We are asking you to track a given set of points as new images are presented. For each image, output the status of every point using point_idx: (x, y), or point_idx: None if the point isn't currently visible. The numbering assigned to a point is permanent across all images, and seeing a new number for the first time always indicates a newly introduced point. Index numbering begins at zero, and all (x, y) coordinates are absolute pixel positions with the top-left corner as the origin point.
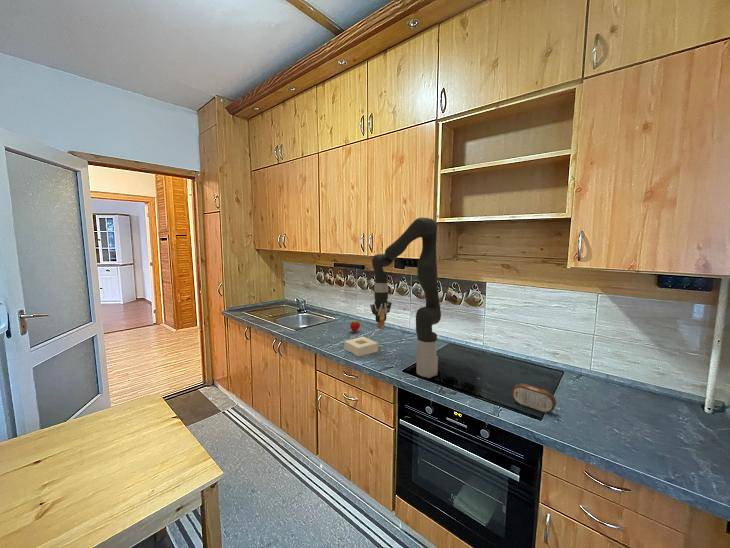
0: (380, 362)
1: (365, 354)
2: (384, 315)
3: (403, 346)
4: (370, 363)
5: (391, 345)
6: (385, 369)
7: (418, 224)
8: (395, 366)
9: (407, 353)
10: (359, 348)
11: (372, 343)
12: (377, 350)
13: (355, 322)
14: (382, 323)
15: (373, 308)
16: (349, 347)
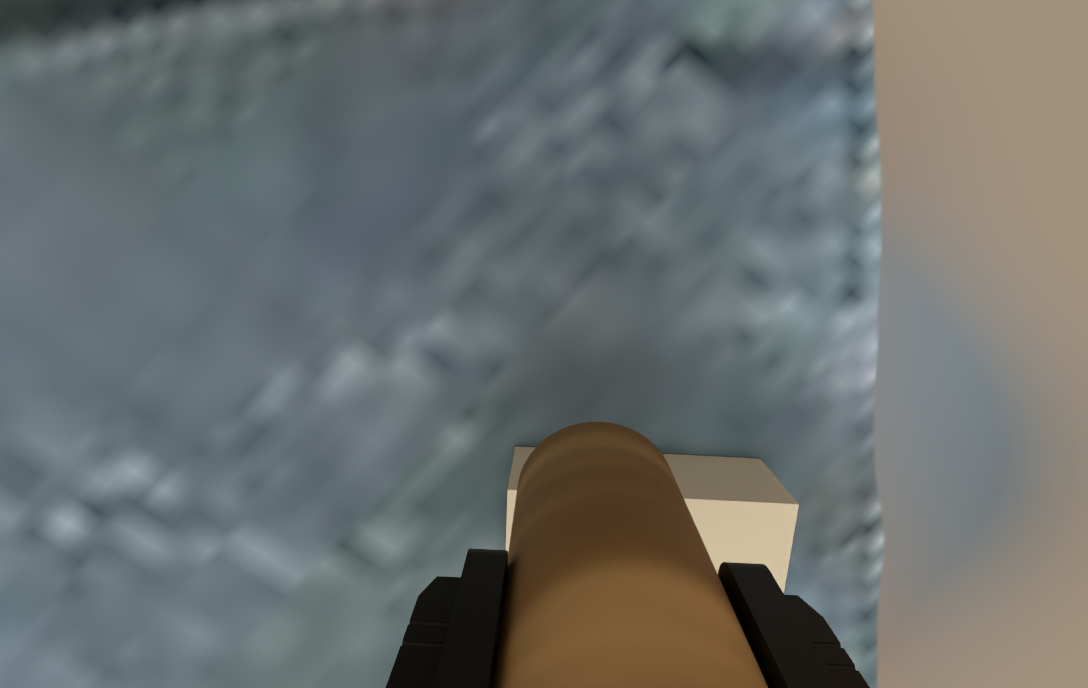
0: (693, 220)
1: (671, 455)
2: (550, 683)
3: (201, 383)
4: (786, 265)
5: (292, 477)
6: (782, 51)
7: None
8: (647, 39)
9: (296, 215)
10: (778, 498)
11: None
12: (518, 450)
13: None
14: (641, 486)
15: None
16: None
